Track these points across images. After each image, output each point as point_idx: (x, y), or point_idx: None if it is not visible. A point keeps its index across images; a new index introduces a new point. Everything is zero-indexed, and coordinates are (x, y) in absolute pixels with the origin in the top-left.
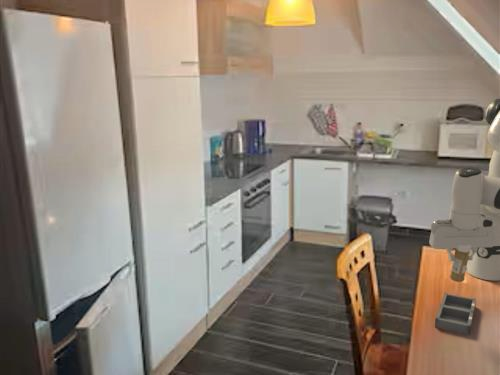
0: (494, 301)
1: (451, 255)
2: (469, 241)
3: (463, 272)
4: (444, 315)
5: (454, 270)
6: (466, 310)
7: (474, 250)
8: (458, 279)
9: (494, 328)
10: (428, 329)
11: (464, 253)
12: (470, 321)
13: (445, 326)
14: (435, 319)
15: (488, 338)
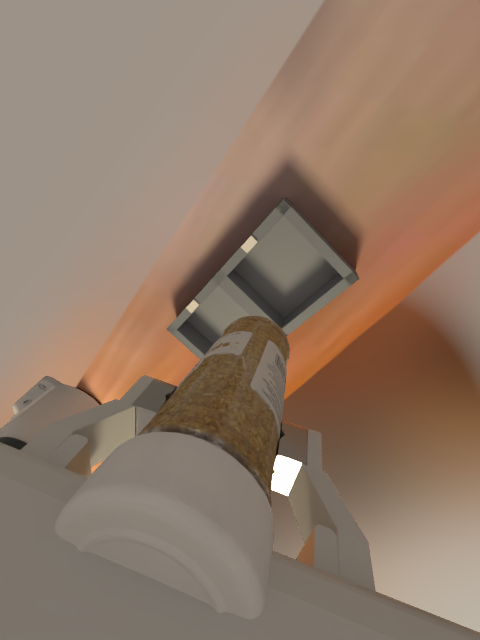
0: (120, 322)
1: (320, 476)
2: (29, 619)
3: (241, 333)
4: (282, 311)
5: (284, 368)
6: (229, 288)
7: (73, 435)
8: (269, 325)
9: (193, 209)
10: (386, 264)
11: (219, 434)
12: (261, 227)
13: (335, 251)
14: (358, 277)
15: (244, 161)
